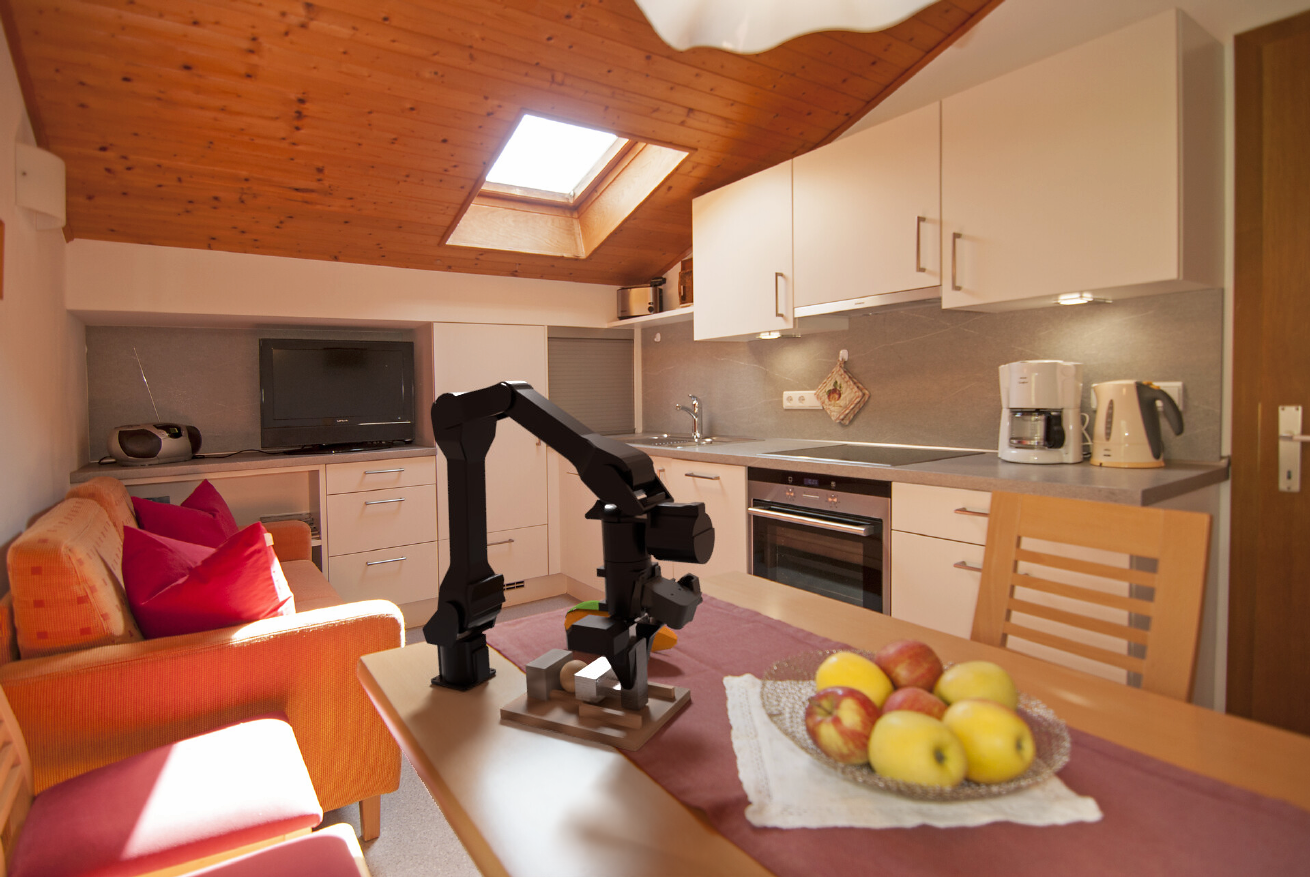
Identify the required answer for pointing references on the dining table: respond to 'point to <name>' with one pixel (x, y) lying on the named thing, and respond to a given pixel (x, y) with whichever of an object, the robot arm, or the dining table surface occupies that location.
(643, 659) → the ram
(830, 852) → the dining table surface
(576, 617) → the corn
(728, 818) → the dining table surface
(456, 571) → the robot arm
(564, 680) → the tan wooden ball
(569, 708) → the base
